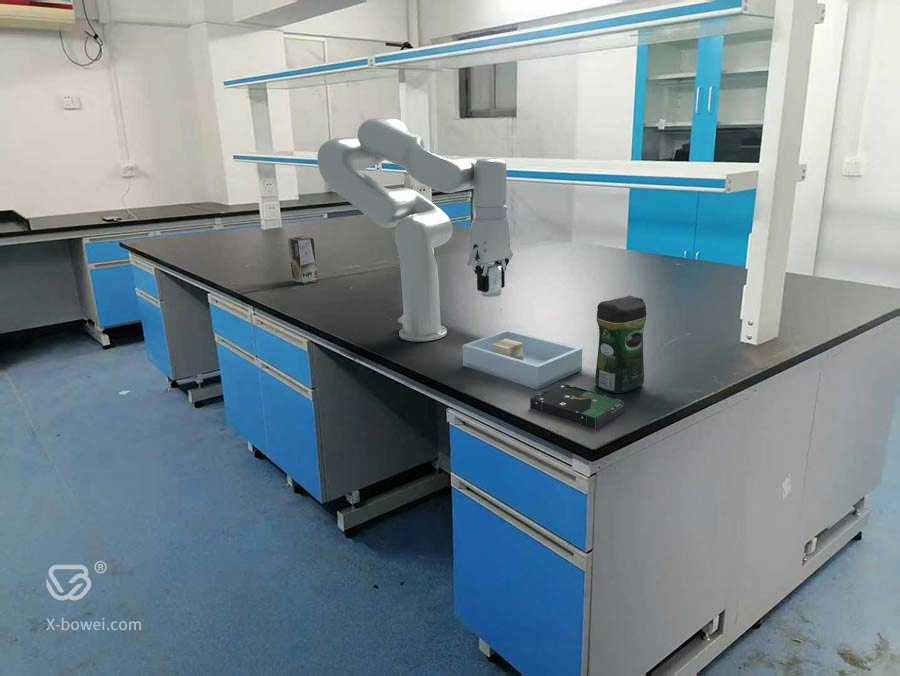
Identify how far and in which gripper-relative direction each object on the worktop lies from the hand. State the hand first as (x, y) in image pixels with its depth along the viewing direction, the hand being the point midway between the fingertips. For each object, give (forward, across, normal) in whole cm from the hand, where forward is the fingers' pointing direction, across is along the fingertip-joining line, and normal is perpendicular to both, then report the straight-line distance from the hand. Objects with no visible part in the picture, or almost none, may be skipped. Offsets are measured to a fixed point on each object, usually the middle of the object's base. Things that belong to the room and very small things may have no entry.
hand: (490, 288), depth 159 cm
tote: (+14, +8, +17) cm, 23 cm away
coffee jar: (+14, +3, +39) cm, 41 cm away
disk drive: (+15, +18, +39) cm, 46 cm away
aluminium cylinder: (+2, 0, 0) cm, 2 cm away
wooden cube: (+13, +10, +15) cm, 22 cm away
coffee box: (+16, -9, -103) cm, 105 cm away
